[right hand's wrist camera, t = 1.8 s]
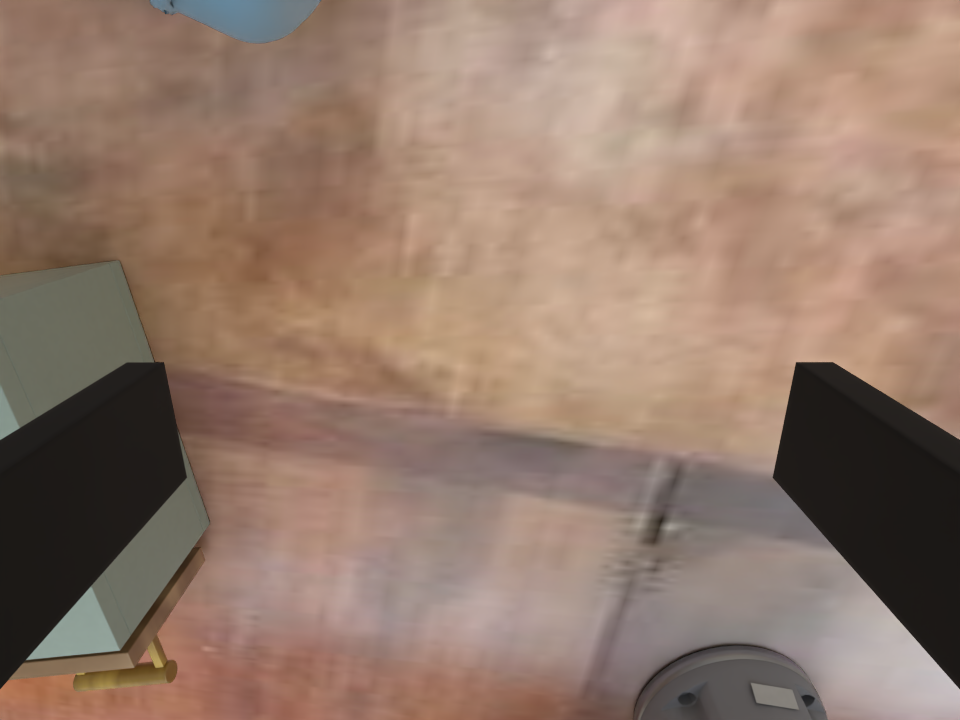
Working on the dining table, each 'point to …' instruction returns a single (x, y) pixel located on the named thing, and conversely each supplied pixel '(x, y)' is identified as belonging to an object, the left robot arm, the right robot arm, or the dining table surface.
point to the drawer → (125, 646)
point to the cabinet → (56, 377)
